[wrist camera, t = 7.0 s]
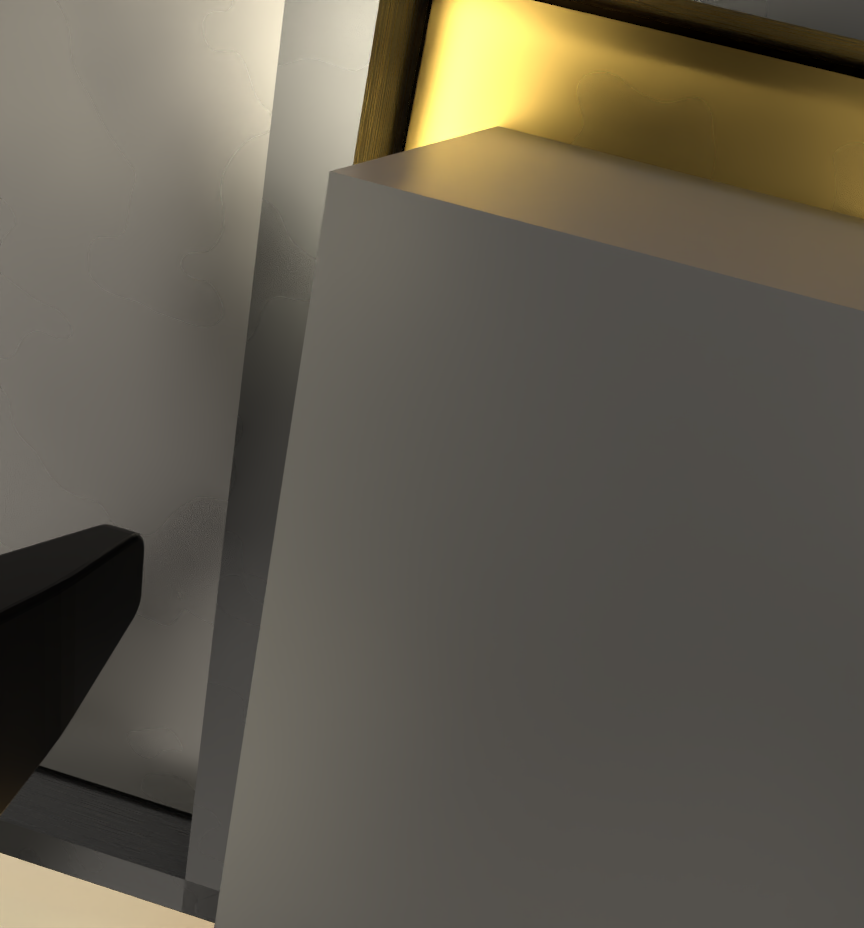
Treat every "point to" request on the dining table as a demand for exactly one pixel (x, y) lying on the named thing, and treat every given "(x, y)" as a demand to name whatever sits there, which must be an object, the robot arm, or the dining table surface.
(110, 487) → the grey shallow square tray
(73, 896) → the dining table surface
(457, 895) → the panel
